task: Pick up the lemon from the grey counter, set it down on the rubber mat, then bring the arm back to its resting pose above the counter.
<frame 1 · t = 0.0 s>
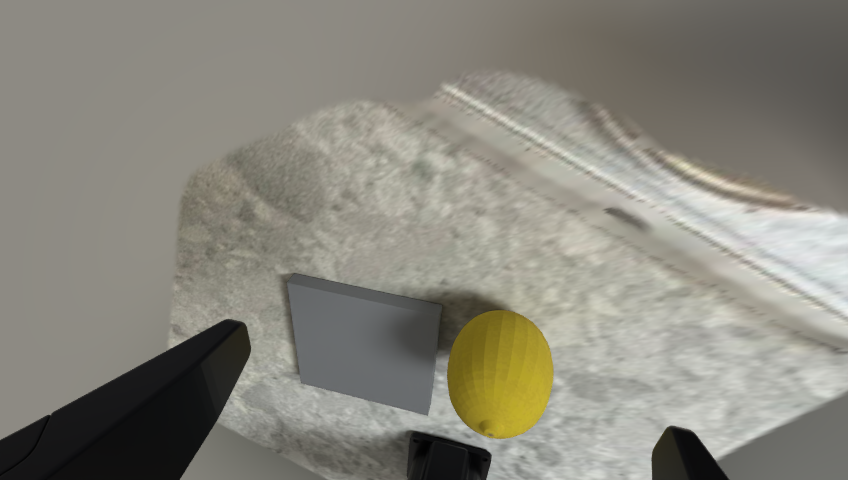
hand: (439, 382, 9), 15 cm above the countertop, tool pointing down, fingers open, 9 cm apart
mat: (366, 342, 32), on the countertop
lemon: (506, 316, 28), on the countertop
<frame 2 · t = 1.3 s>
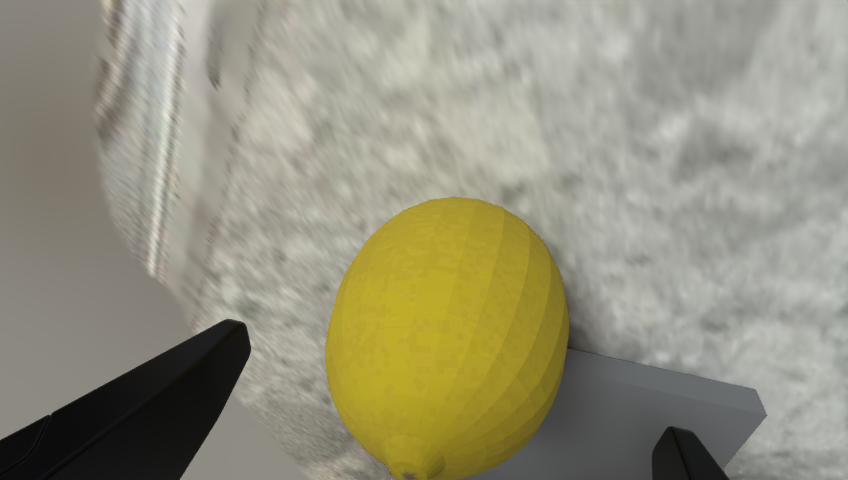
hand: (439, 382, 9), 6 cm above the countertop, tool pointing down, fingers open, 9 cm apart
mat: (565, 437, 19), on the countertop
lemon: (474, 230, 14), on the countertop
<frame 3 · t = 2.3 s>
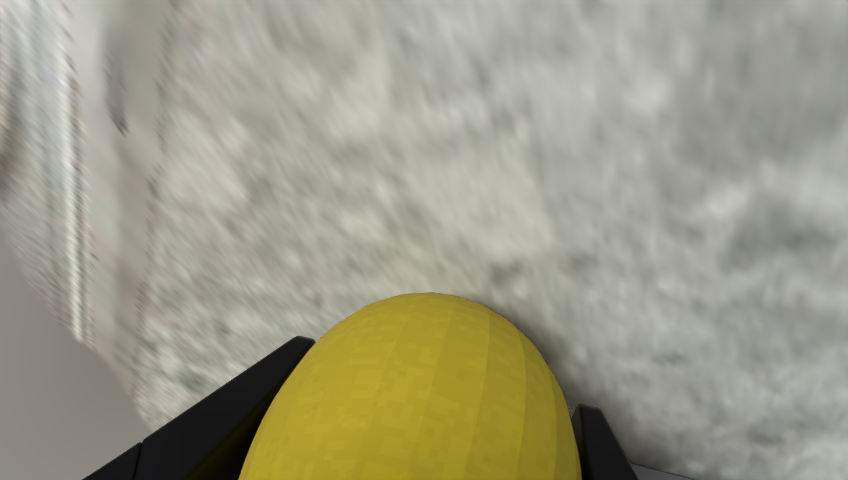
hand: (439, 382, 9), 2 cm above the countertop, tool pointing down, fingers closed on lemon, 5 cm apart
lemon: (458, 311, 11), on the countertop, touching gripper
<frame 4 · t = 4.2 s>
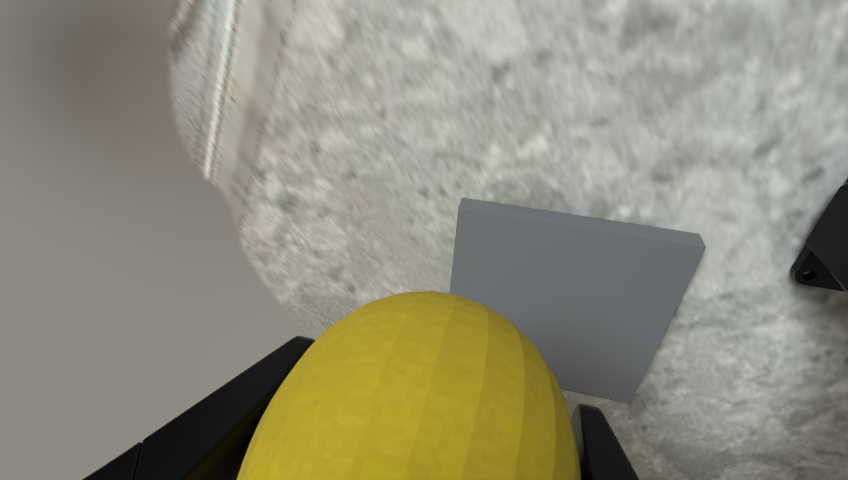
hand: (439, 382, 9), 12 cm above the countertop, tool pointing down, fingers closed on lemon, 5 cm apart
mat: (552, 301, 22), on the countertop
lemon: (457, 310, 11), point 10 cm above the countertop, touching gripper
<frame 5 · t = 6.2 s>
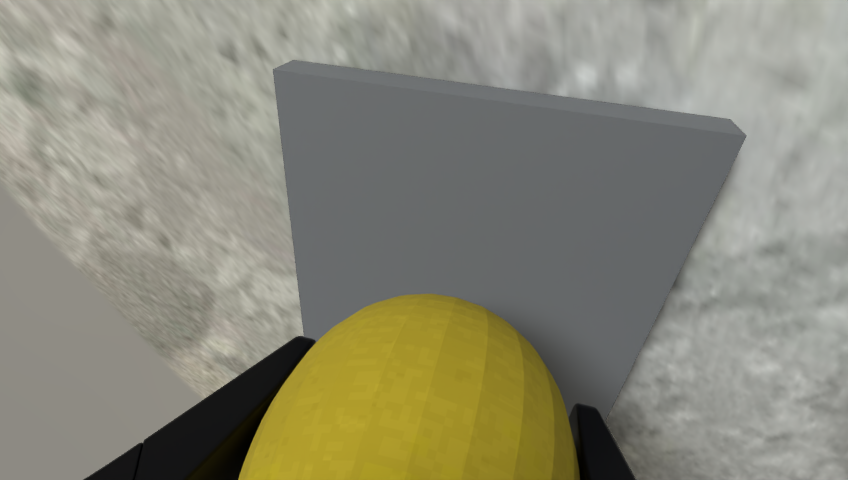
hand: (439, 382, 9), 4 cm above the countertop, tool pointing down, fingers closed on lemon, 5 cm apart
mat: (468, 261, 13), on the countertop
lemon: (457, 312, 11), point 2 cm above the countertop, touching gripper
when the fingers open (4 cm above the countertop, at t = 6.5 s): lemon drops 1 cm, resting on mat.
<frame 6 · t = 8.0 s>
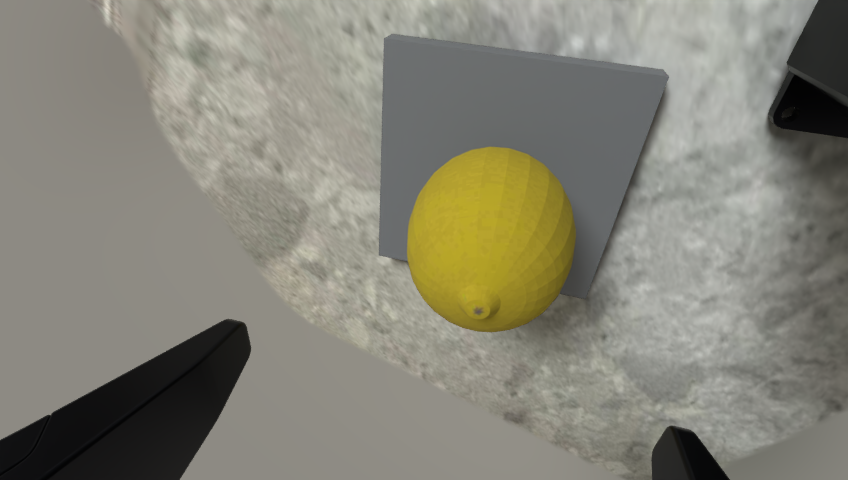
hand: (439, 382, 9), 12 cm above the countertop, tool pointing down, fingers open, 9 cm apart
mat: (498, 173, 20), on the countertop
lemon: (499, 181, 19), point 1 cm above the countertop, touching mat
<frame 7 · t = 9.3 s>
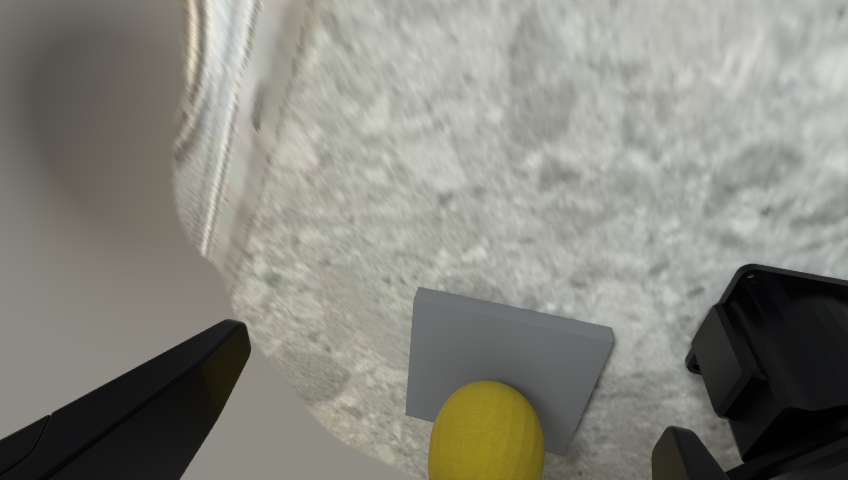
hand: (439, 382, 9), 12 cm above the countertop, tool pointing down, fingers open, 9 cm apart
mat: (496, 370, 26), on the countertop
lemon: (497, 381, 26), point 1 cm above the countertop, touching mat
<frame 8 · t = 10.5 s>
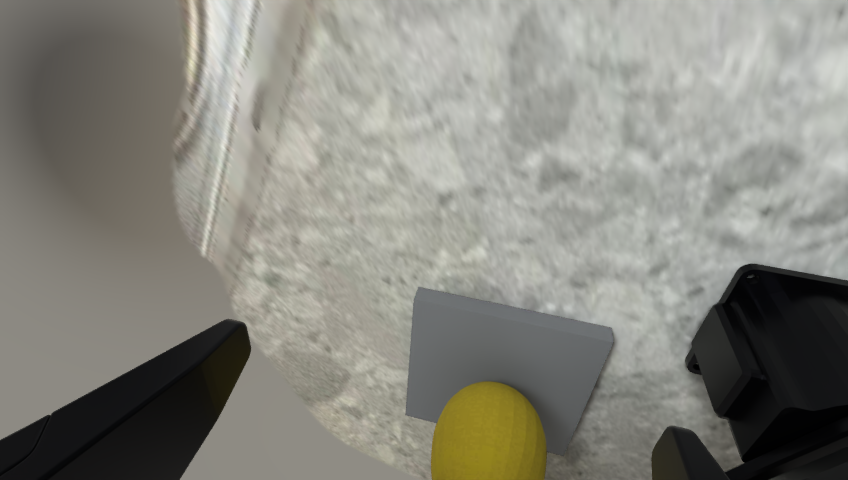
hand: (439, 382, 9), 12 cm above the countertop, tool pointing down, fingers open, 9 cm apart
mat: (496, 370, 26), on the countertop
lemon: (497, 381, 26), point 1 cm above the countertop, touching mat
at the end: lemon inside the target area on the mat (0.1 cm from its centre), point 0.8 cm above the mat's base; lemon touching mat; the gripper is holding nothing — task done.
